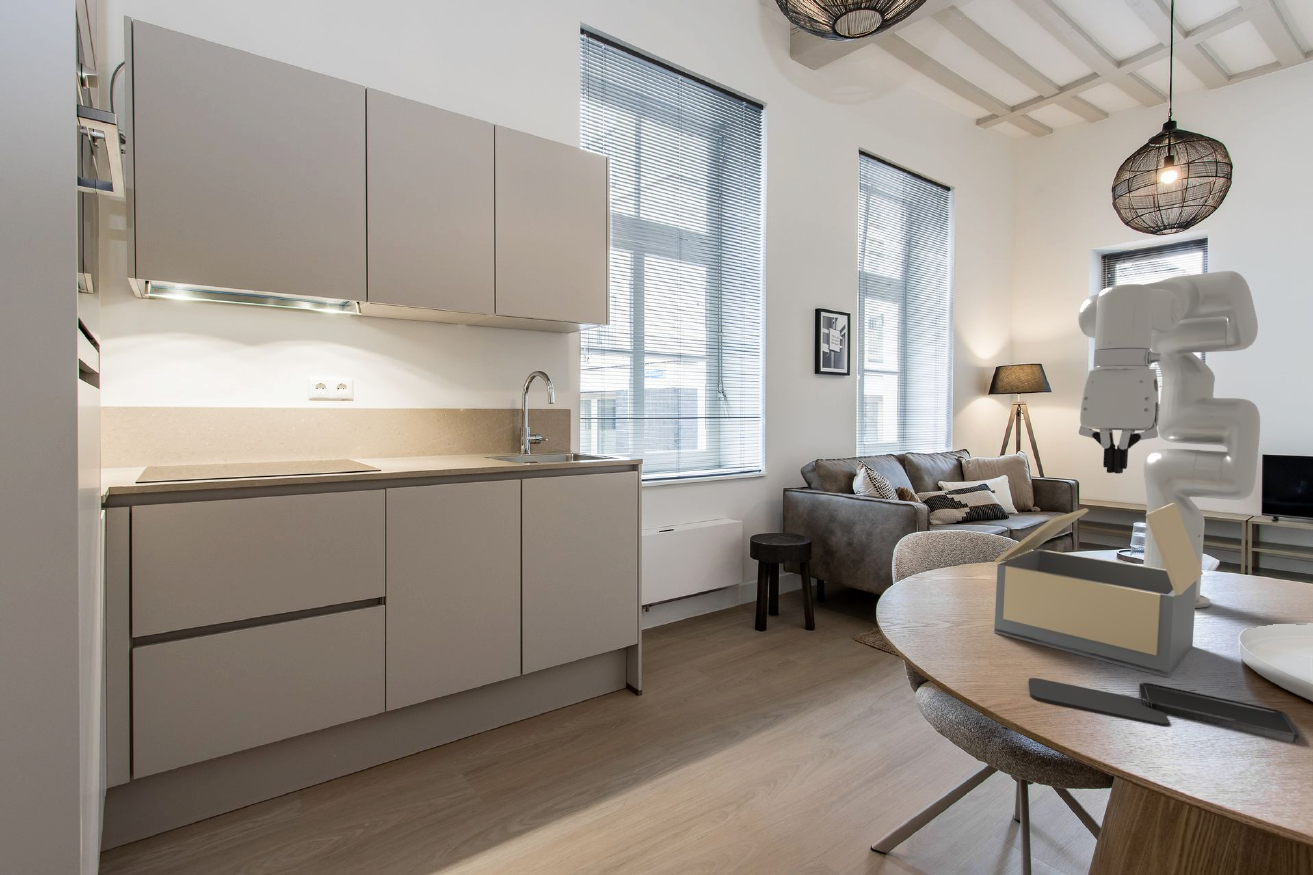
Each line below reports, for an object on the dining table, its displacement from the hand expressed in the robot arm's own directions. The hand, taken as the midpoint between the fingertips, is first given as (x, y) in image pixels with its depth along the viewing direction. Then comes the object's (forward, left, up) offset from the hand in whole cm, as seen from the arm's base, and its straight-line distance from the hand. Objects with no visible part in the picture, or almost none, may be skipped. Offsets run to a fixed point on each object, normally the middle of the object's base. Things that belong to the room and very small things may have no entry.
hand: (1114, 472), depth 107 cm
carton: (0, -2, -29) cm, 29 cm away
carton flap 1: (0, -10, -12) cm, 16 cm away
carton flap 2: (0, +8, -11) cm, 14 cm away
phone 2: (+20, +16, -29) cm, 39 cm away
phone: (+28, +5, -29) cm, 41 cm away
